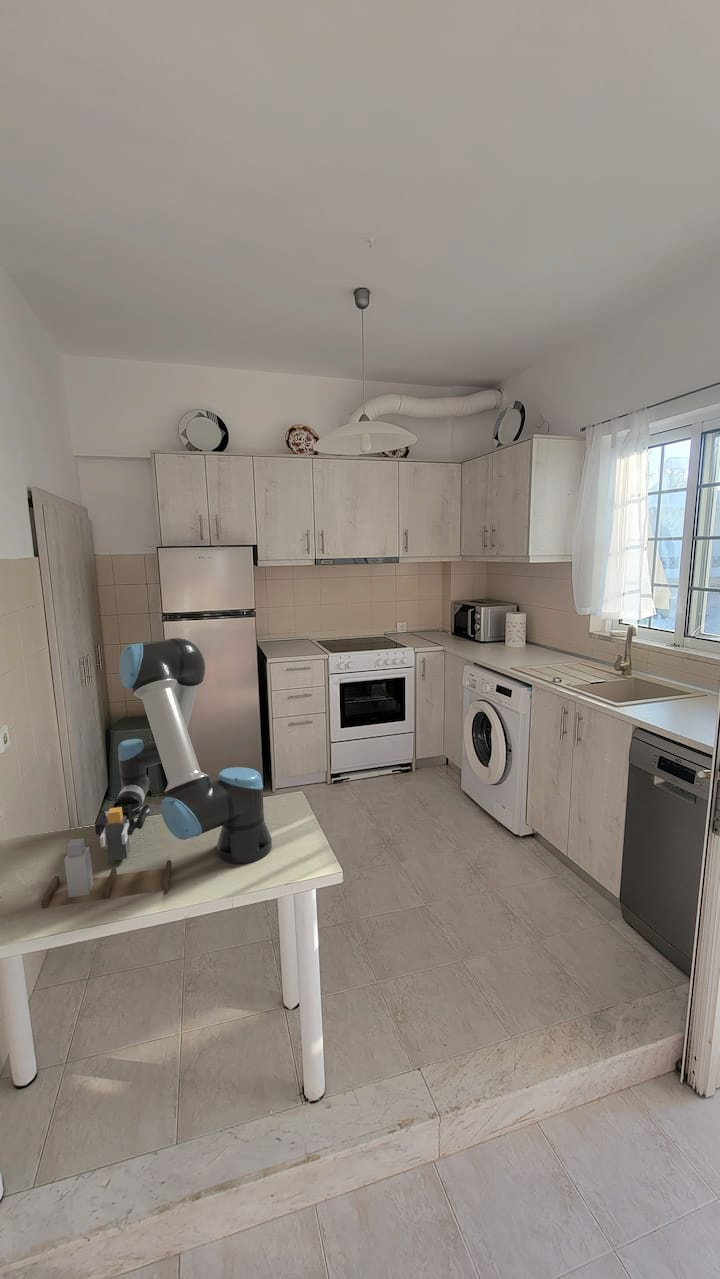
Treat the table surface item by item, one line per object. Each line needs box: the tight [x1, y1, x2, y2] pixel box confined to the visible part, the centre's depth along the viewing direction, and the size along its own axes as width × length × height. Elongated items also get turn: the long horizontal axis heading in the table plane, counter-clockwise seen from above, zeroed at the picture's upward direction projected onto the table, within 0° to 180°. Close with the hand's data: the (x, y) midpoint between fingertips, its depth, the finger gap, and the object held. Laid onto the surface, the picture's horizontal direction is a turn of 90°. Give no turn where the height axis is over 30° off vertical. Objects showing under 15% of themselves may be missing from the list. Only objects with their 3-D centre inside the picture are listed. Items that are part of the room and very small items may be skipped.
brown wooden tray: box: [41, 859, 173, 909], centre depth 137 cm, size 28×10×3 cm, turn 103°
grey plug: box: [63, 837, 94, 898], centre depth 135 cm, size 4×4×13 cm
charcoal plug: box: [105, 807, 131, 862], centre depth 148 cm, size 4×4×13 cm
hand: (112, 840), depth 143 cm, fingers closed on charcoal plug, 4 cm apart
